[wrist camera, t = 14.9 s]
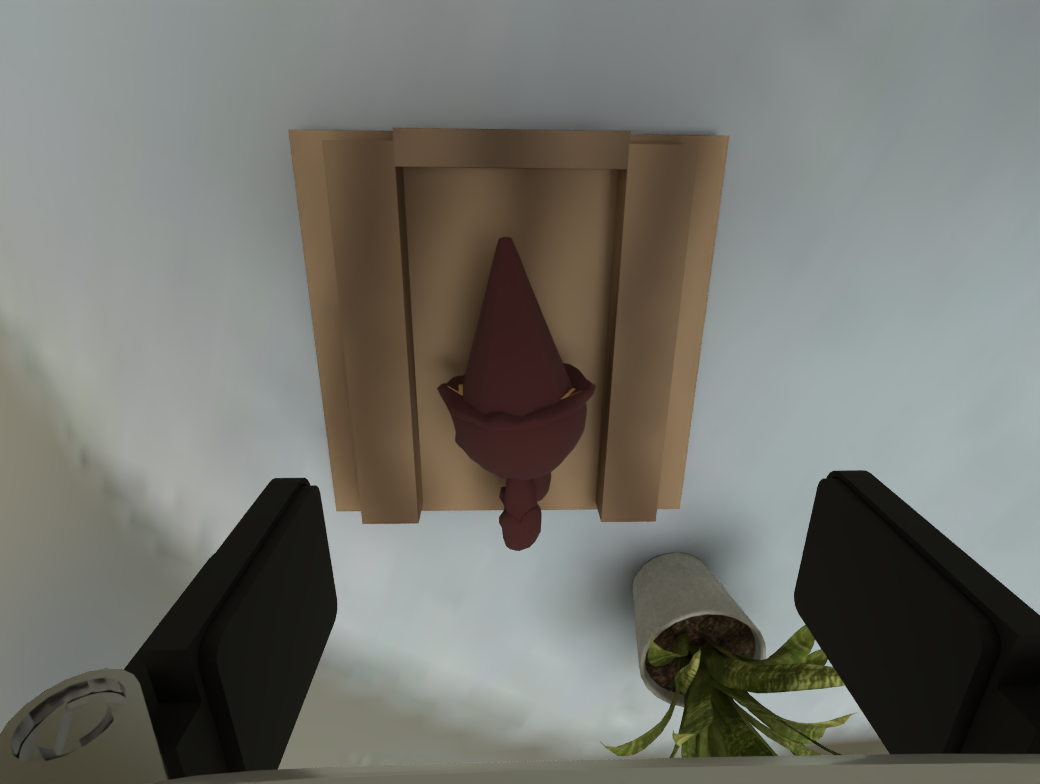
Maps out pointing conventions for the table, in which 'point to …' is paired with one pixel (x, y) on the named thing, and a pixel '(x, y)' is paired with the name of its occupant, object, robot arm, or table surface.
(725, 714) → the house plant
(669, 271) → the cradle
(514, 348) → the icecream
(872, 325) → the table surface
